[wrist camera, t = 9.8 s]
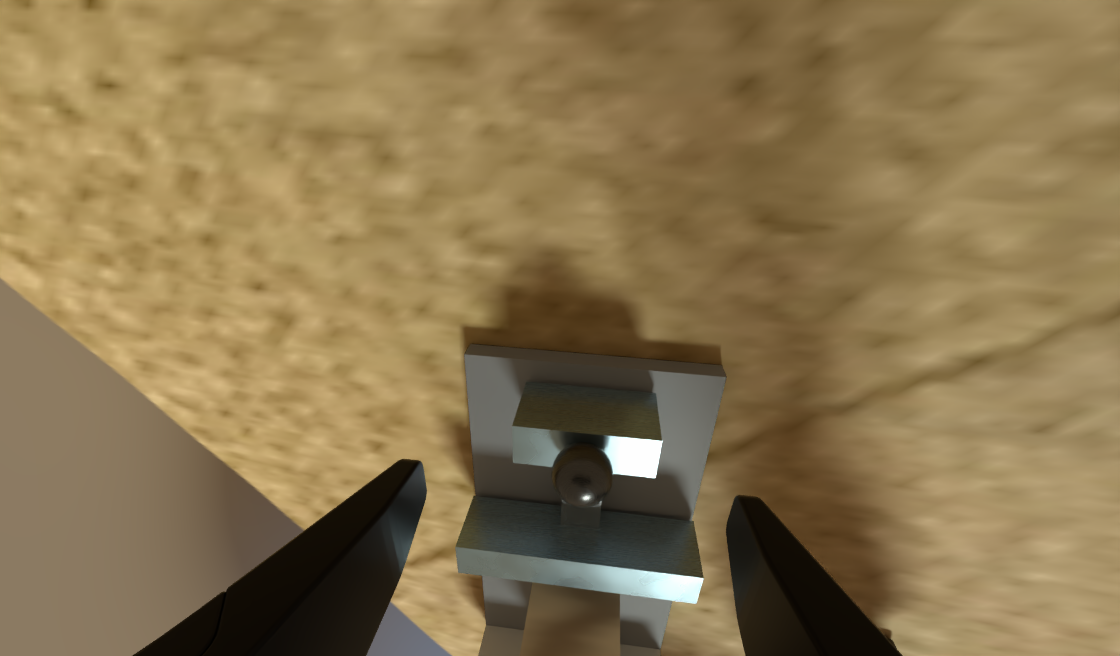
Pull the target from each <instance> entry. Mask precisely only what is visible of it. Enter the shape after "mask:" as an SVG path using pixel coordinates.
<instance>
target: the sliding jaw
mask: <svg viewBox="0 0 1120 656" xmlns="http://www.w3.org/2000/svg"><path fill="white" fill-rule="evenodd" d="M661 444H662V436H661V428H660V421H659V413H658V405H657V397H656V393H647V392H636V391H625V390H614V389H604V388H593V387H582V386H571V385H560V384H549V383H538V382H527V381H526V384H525V387H524V390H523V393H522V396H521V399H520V402H519V406H518V409H517V412H516V415H515V418H514V421H513V424H512V448H513V463H519V464H528V465H538V466H547V467H552V472H551V477H552V483H553V486H554V489H555V491H556V493H557V494H558V495H559V497H560V498H561V499H562V504H561V506H558V505H549V504H540V503H532V502H523V501H514V500H506V499H497V498H488V497H480V496H474V497H473V499H472V502H471V505H470V508H469V511H468V513H467V516H466V519H465V522H464V524H463V527H462V530H461V533H460V536H459V538H458V541H457V544H456V547H455V548H456V556H457V565H458V573H466V574H473V575H481V576H488V577H496V578H504V579H511V580H519V581H526V582H534V583H542V584H549V585H557V586H565V587H572V588H580V589H587V590H595V591H603V592H610V593H618V594H626V595H633V596H641V597H648V598H656V599H664V600H671V601H679V602H686V603H694V604H696V603H697V600H698V596H699V593H700V589H701V586H702V582H703V579H704V578H703V572H702V566H701V561H700V555H699V549H698V544H697V538H696V532H695V527H694V521H687V520H679V519H670V518H661V517H653V516H644V515H635V514H627V513H618V512H610V511H601V503H602V500H604V499H605V498H606V496H607V495H608V494H609V492H610V490H611V488H612V485H613V479H614V474H621V475H630V476H640V477H649V478H656V473H657V467H658V461H659V456H660V450H661Z"/></svg>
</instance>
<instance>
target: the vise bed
mask: <svg viewBox="0 0 1120 656" xmlns="http://www.w3.org/2000/svg"><path fill="white" fill-rule="evenodd" d="M464 357H465V370H466V382H467V395H468V407H469V419H470V432H471V444H472V457H473V469H474V481H475V494H476V496H480V497H488V498H497V499H506V500H514V501H523V502H532V503H540V504H549V505H558V506H561V504H562V499H561V498H560V497H559V495H558V494H557V493H556V491H555V489H554V486H553V483H552V477H551V472H552V467H547V466H538V465H528V464H519V463H513V448H512V424H513V421H514V418H515V415H516V412H517V409H518V406H519V402H520V399H521V396H522V393H523V390H524V387H525V384H526V381H527V382H538V383H549V384H560V385H571V386H582V387H593V388H604V389H614V390H625V391H636V392H647V393H656V397H657V405H658V413H659V421H660V428H661V436H662V444H661V450H660V456H659V461H658V467H657V473H656V478H649V477H640V476H630V475H621V474H614V479H613V485H612V488H611V490H610V492H609V494H608V495H607V496H606V498H605V499H604V500H602V503H601V511H610V512H618V513H627V514H635V515H644V516H653V517H661V518H670V519H679V520H687V521H692V517H693V513H694V509H695V505H696V501H697V497H698V493H699V489H700V484H701V480H702V476H703V472H704V468H705V464H706V460H707V456H708V451H709V447H710V443H711V439H712V435H713V431H714V427H715V423H716V419H717V414H718V410H719V406H720V402H721V398H722V394H723V390H724V386H725V382H726V375H725V372H724V369H723V367H722V365H712V364H701V363H689V362H677V361H665V360H654V359H642V358H630V357H618V356H607V355H595V354H583V353H571V352H559V351H548V350H536V349H524V348H512V347H501V346H489V345H477V344H470V346H469V347H468V349H467V351H466V352H465V354H464ZM482 580H483V593H484V605H485V618H486V627H485V631H484V635H483V639H482V643H481V647H480V651H479V655H478V656H520V650H521V645H522V639H523V633H524V628H525V622H526V616H527V611H528V605H529V599H530V594H531V588H532V582H526V581H519V580H511V579H504V578H496V577H488V576H482ZM671 604H672V601H671V600H664V599H656V598H648V597H641V596H633V595H626V594H620V656H661V652H660V649H661V645H662V641H663V637H664V632H665V628H666V624H667V620H668V616H669V612H670V608H671Z"/></svg>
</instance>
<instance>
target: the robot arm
mask: <svg viewBox="0 0 1120 656" xmlns="http://www.w3.org/2000/svg"><path fill="white" fill-rule="evenodd" d="M426 494H427V489H426V482H425V475H424V469H423V464H422V462H421V461H419V460H411V459H401V460H399V461H397V462H396V463H395V464H393V465H392V466H391V467H389V468H388V469H387V470H385V471H384V472H382V473H381V474H380V475H378V476H377V477H376V478H374V479H373V480H372V481H370V482H369V483H368V484H366V485H365V486H364V487H362V488H361V489H360V490H358V491H357V492H356V493H354V494H353V495H352V496H350V497H349V498H348V499H346V500H345V501H344V502H342V503H341V504H340V505H338V506H337V507H336V508H334V509H333V510H331V511H330V512H329V513H327V514H326V515H325V516H323V517H322V518H321V519H319V520H318V521H317V522H315V523H314V524H313V525H311V526H310V527H309V528H307V529H306V530H305V531H303V532H302V533H301V534H299V535H298V536H297V537H295V538H294V539H293V540H291V541H290V542H289V543H287V544H286V545H285V546H283V547H282V548H281V549H279V550H278V551H276V552H275V553H274V554H272V555H271V556H270V557H268V558H267V559H266V560H264V561H263V562H262V563H260V564H259V565H258V566H257V567H255V568H254V569H252V570H251V571H250V572H248V573H247V574H246V575H244V576H243V577H242V578H240V579H239V580H238V581H236V582H235V583H233V584H232V585H231V586H230V587H228V589H227V591H226V592H221V593H220V594H219V595H217V596H216V597H214V598H213V599H212V600H210V601H209V602H208V603H206V604H205V605H204V606H202V607H201V608H200V609H199V610H197V611H196V612H194V613H193V614H191V615H190V616H189V617H187V618H186V619H184V620H183V621H182V622H180V623H179V624H177V625H176V626H175V627H173V628H172V629H170V630H169V631H168V632H166V633H165V634H164V635H162V636H161V637H159V638H158V639H156V640H155V641H153V642H152V643H150V644H149V645H147V646H146V647H145V648H143V649H142V650H140V651H139V652H137V653H136V654H134V655H133V656H366V655H367V653H368V650H369V648H370V646H371V643H372V641H373V639H374V637H375V634H376V632H377V630H378V628H379V625H380V623H381V621H382V618H383V616H384V614H385V612H386V609H387V607H388V605H389V603H390V600H391V598H392V596H393V593H394V591H395V589H396V587H397V584H398V582H399V579H400V577H401V574H402V571H403V568H404V565H405V562H406V559H407V556H408V553H409V550H410V547H411V544H412V541H413V538H414V534H415V531H416V528H417V525H418V522H419V519H420V516H421V513H422V509H423V506H424V503H425V500H426ZM726 536H727V544H728V552H729V560H730V568H731V575H732V583H733V591H734V599H735V606H736V613H737V620H738V625H739V629H740V634H741V638H742V643H743V647H744V651H745V655H746V656H902V654H901V653H900V652H899V651H898V650H897V648H896V646H895V644H894V642H893V640H891V639H888V638H886V637H885V636H884V635H883V633H882V632H881V631H880V630H879V629H878V628H877V627H876V626H875V625H874V624H873V622H872V621H871V620H870V619H869V618H868V617H867V616H866V615H865V614H864V612H863V611H862V610H861V609H860V608H859V607H858V606H857V605H856V604H855V603H854V601H853V600H852V599H851V598H850V597H849V596H848V595H847V594H846V593H845V591H844V590H843V589H842V588H841V587H840V586H839V585H838V584H837V583H836V581H835V580H834V579H833V578H832V577H831V576H830V575H829V574H828V573H827V572H826V570H825V569H824V568H823V567H822V566H821V565H820V564H819V563H818V562H817V560H816V559H815V558H814V557H813V556H812V555H811V554H810V553H809V552H808V551H807V549H806V548H805V547H804V546H803V545H802V544H801V543H800V542H799V541H798V539H797V538H796V537H795V536H794V535H793V534H792V533H791V532H790V531H789V530H788V528H787V527H786V526H785V525H784V524H783V523H782V522H781V521H780V520H779V518H778V517H777V516H776V515H775V514H774V513H773V512H772V511H771V510H770V509H769V507H768V506H767V505H766V504H765V503H764V502H763V501H762V500H761V499H760V498H758V497H755V496H745V495H737V496H736V497H735V499H734V501H733V505H732V508H731V511H730V515H729V518H728V521H727V527H726Z"/></svg>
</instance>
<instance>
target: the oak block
mask: <svg viewBox="0 0 1120 656" xmlns="http://www.w3.org/2000/svg"><path fill="white" fill-rule="evenodd" d="M520 656H620V594H618V593H610V592H603V591H595V590H587V589H580V588H572V587H565V586H557V585H549V584H542V583H534V582H532V588H531V594H530V599H529V605H528V611H527V616H526V622H525V628H524V633H523V639H522V645H521V650H520Z"/></svg>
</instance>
